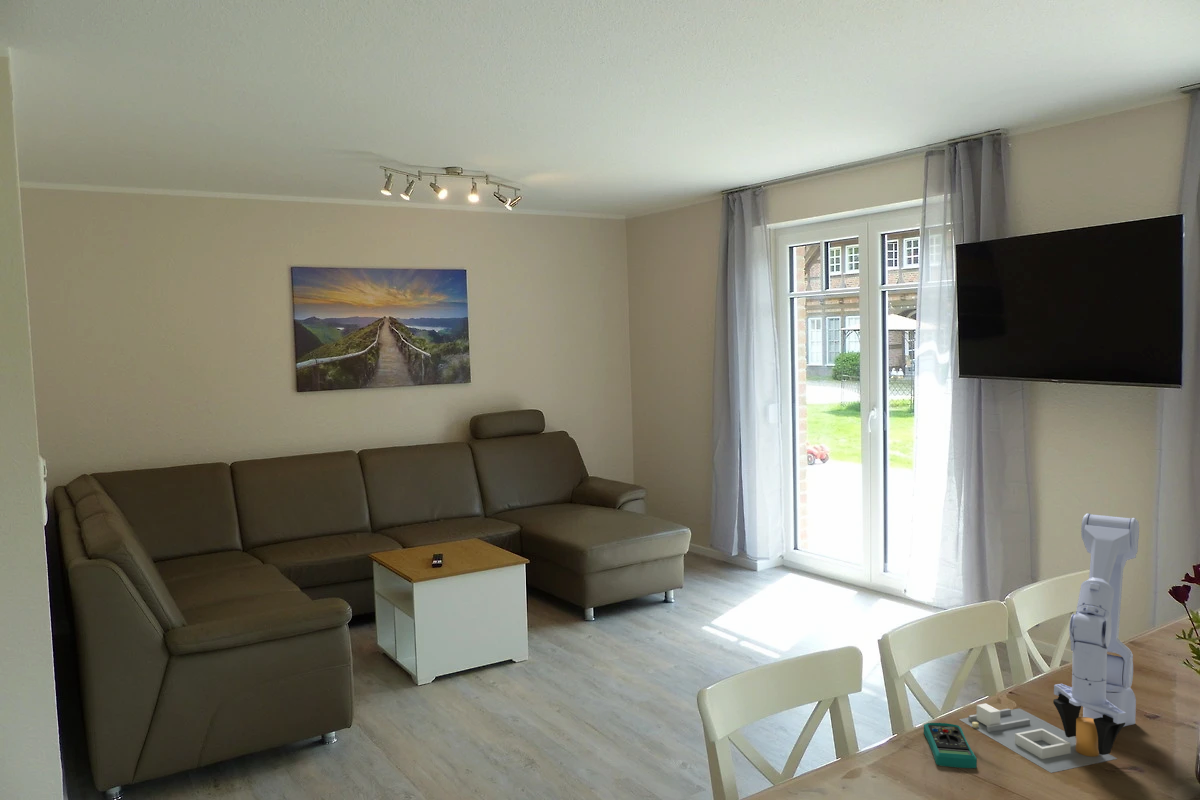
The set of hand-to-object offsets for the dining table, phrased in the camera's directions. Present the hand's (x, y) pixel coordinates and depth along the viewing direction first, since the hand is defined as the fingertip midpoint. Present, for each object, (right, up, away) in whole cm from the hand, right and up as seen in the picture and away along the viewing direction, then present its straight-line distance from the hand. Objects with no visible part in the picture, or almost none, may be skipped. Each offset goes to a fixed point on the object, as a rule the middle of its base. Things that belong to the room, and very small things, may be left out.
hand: (1087, 744), depth 166 cm
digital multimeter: (-25, -3, +4) cm, 26 cm away
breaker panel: (-7, -2, +6) cm, 10 cm away
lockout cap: (0, -1, 0) cm, 1 cm away
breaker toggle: (-14, -1, +12) cm, 18 cm away
